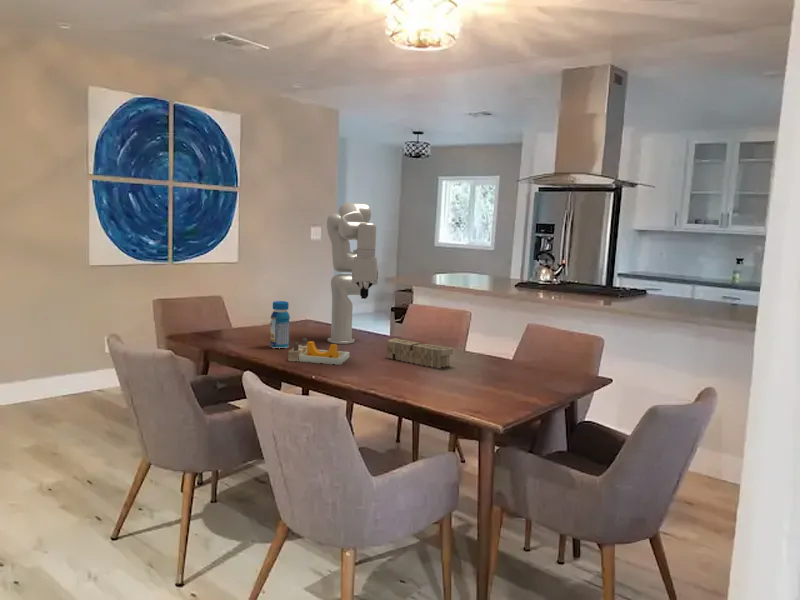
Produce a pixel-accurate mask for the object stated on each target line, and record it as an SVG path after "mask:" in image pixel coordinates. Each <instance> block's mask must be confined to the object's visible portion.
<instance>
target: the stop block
mask: <svg viewBox="0 0 800 600" xmlns="http://www.w3.org/2000/svg"><path fill="white" fill-rule="evenodd" d="M307 342H308V339H307V338H306V337H303V338H301V344H300V343H299V342H297V341H296V342H295V341H294V342H293V348H291V349H290V350H288V360H287V361H288V362H295V361H297V362H299V355H300V354H302V353H304V352H305V351H307Z"/></svg>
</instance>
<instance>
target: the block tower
mask: <svg viewBox="0 0 800 600" xmlns="http://www.w3.org/2000/svg"><path fill="white" fill-rule="evenodd" d="M453 354H454V348H453V347H449V346H440V345H435V344H430V343H425V344H424V343H423V344H422V343H421V342H417V341H411V340H409V339H403V338H402V339H401V338H400V339H399V338H396V337H395V338H390V339H388V340H387V342H386V359H389V358H391V359H390V360H395V359H396V360H395V361H398V360H401V361H400V362H404V361H405V362H404V363H408V362H410V363H409V364H413V363H415V364H414V365H418V364H420V365H419V366H423V365H425V366H424V367H428V366H431V367H430V368H433V367H437V368H436V369H438V368H440V369H442V368H441V367H444V368H446V367H450V364H451V362H450V357H451V356H450V355H453ZM394 358H395V359H394ZM445 366H446V367H445Z"/></svg>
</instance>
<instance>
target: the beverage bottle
mask: <svg viewBox="0 0 800 600" xmlns="http://www.w3.org/2000/svg"><path fill="white" fill-rule="evenodd" d="M272 310H273V311H272V313H271V316H270V319H271V320H270V322H269V324H270V330H269V331H270V334H269V335H270V338H269V342H270V343H269V346H270V348H271V347H272V349H275V348H279V349H280V348H285V349H288V348H289V347H290V330H291V329H290V328H291V326H290V325H291V322H290V319H291V316H290V313H289V312H288V310H289V301H283V300H275V301H273V302H272ZM280 350H281V349H280Z"/></svg>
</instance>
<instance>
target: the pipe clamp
mask: <svg viewBox="0 0 800 600" xmlns="http://www.w3.org/2000/svg"><path fill="white" fill-rule="evenodd" d="M318 350H319V349H318V348H317V347H316V344H315V341H307V356H318V357H330V358H339V351H338V344H336V343H331V344H330V346H329V349H328V351H327V352H320V351H318Z"/></svg>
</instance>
